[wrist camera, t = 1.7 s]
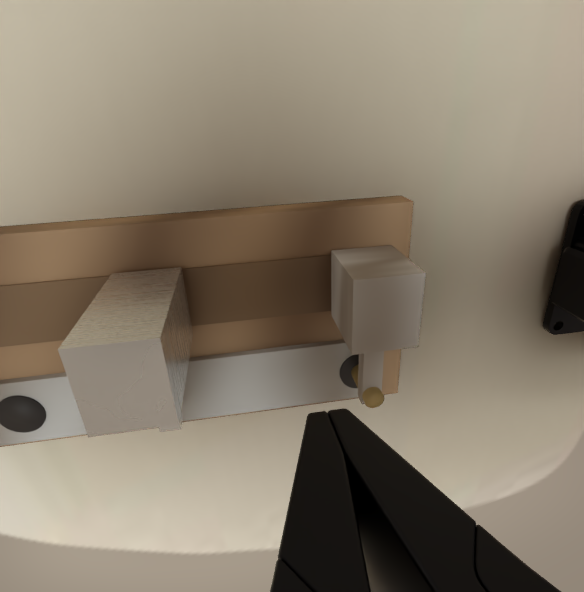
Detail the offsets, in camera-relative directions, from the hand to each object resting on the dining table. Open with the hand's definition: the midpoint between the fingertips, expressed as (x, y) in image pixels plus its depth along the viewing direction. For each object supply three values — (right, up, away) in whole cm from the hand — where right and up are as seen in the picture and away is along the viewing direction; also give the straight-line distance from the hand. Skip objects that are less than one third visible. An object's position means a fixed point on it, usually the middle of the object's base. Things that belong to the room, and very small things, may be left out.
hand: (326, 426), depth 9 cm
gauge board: (-6, +2, +8) cm, 10 cm away
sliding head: (-6, +1, +7) cm, 9 cm away
